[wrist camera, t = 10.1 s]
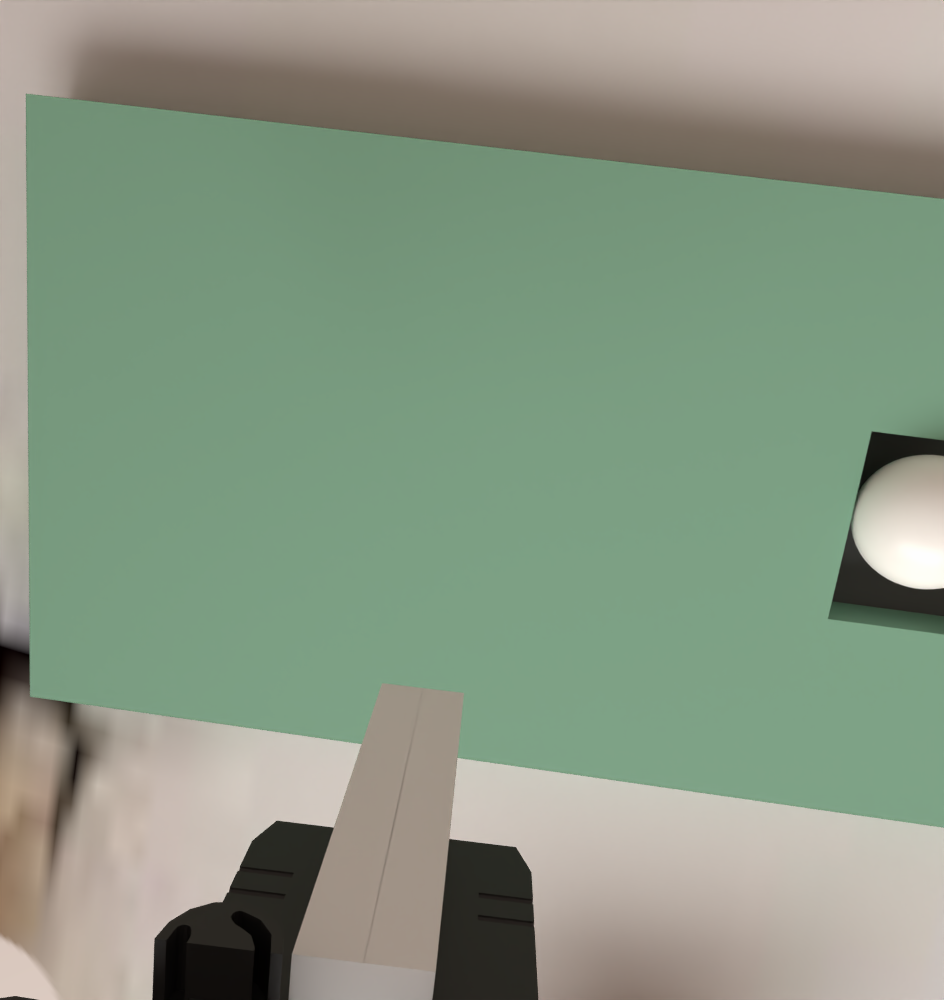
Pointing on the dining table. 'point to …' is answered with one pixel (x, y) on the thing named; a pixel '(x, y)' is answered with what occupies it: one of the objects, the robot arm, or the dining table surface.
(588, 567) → the green slab with pocket
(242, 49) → the dining table surface
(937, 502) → the ball
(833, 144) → the dining table surface
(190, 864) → the dining table surface
